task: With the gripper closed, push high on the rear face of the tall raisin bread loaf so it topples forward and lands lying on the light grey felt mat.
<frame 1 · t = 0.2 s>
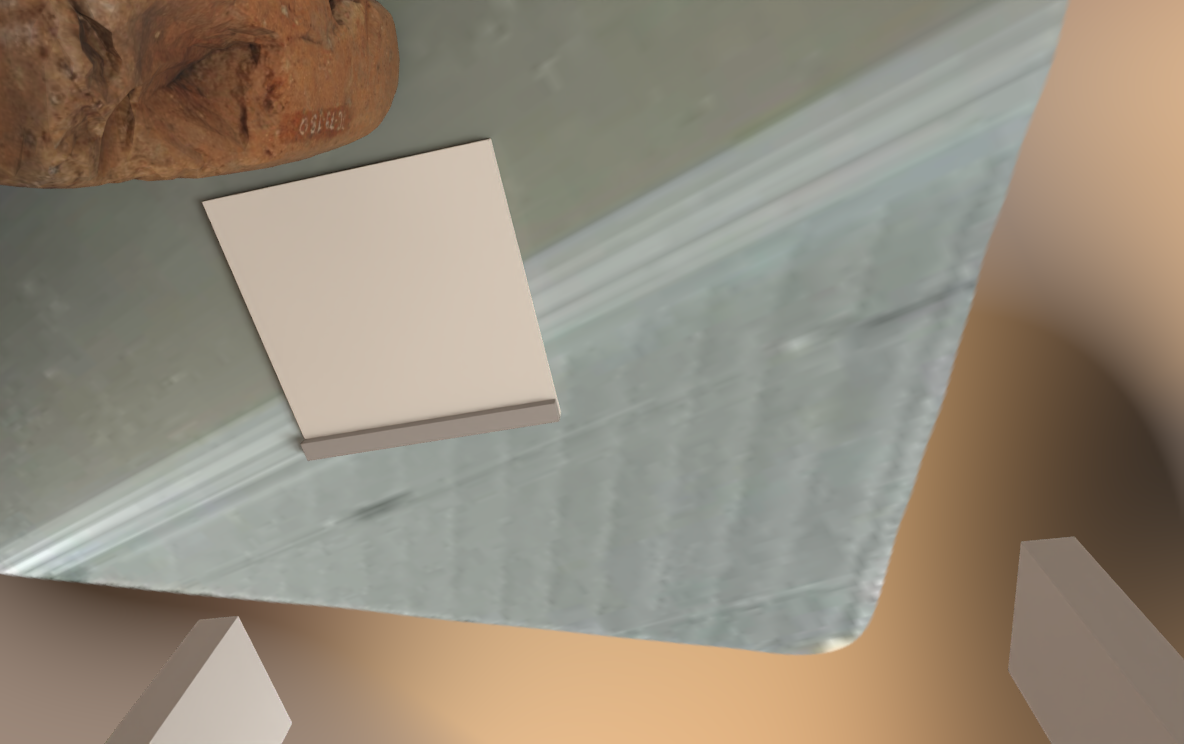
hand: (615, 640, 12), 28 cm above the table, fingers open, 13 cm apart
mat: (393, 311, 40), on the table
raisin bread loaf: (304, 46, 34), on the table
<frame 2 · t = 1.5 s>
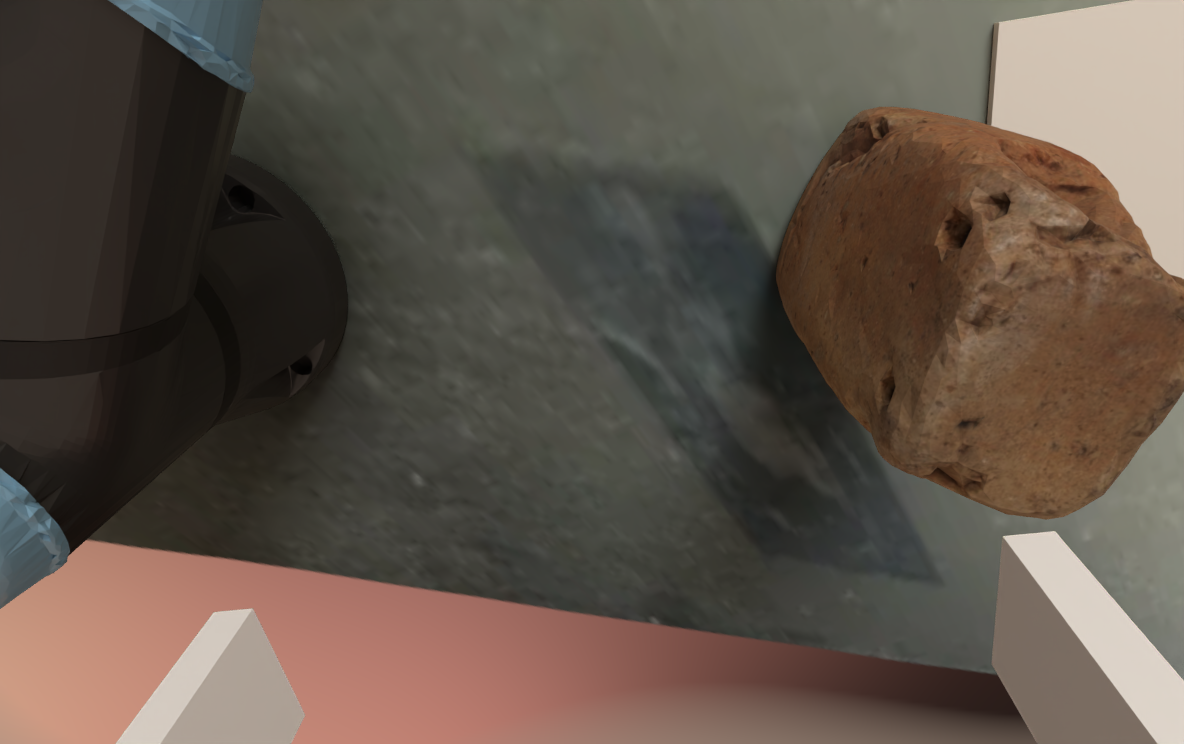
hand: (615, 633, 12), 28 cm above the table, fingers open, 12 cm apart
mat: (1151, 172, 35), on the table
raisin bread loaf: (859, 211, 37), on the table
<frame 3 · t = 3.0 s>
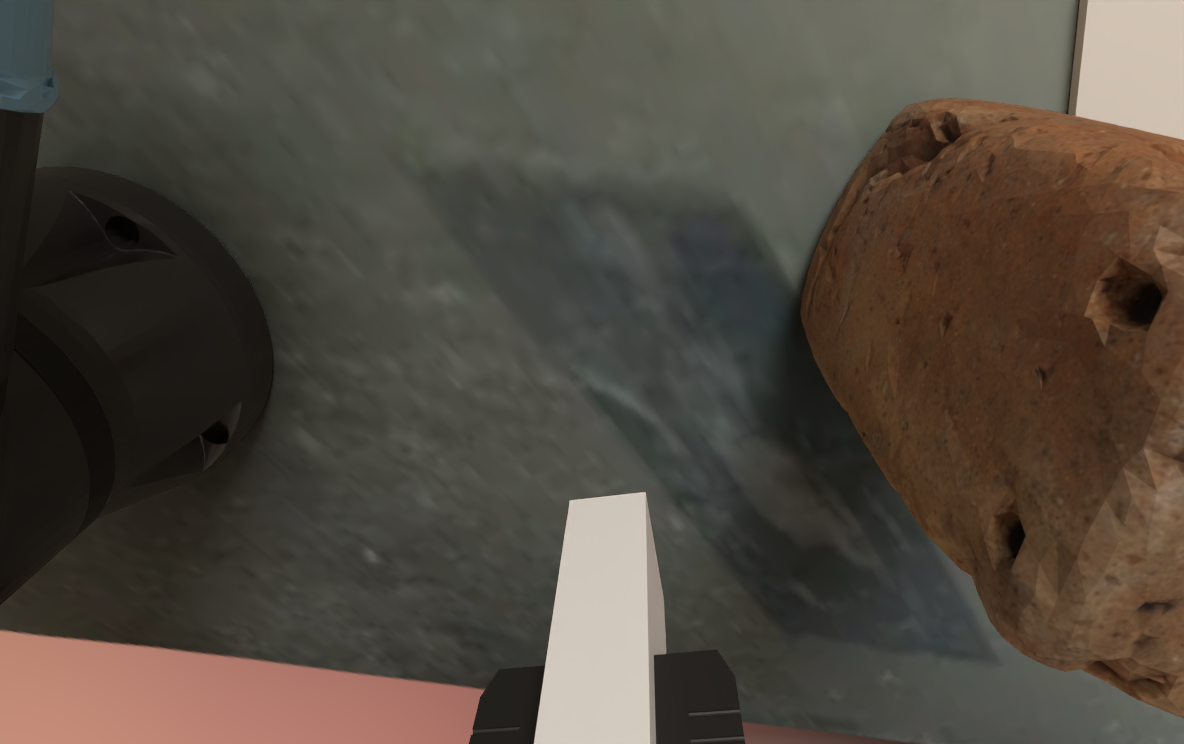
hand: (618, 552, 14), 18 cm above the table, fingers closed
raisin bread loaf: (903, 229, 29), on the table
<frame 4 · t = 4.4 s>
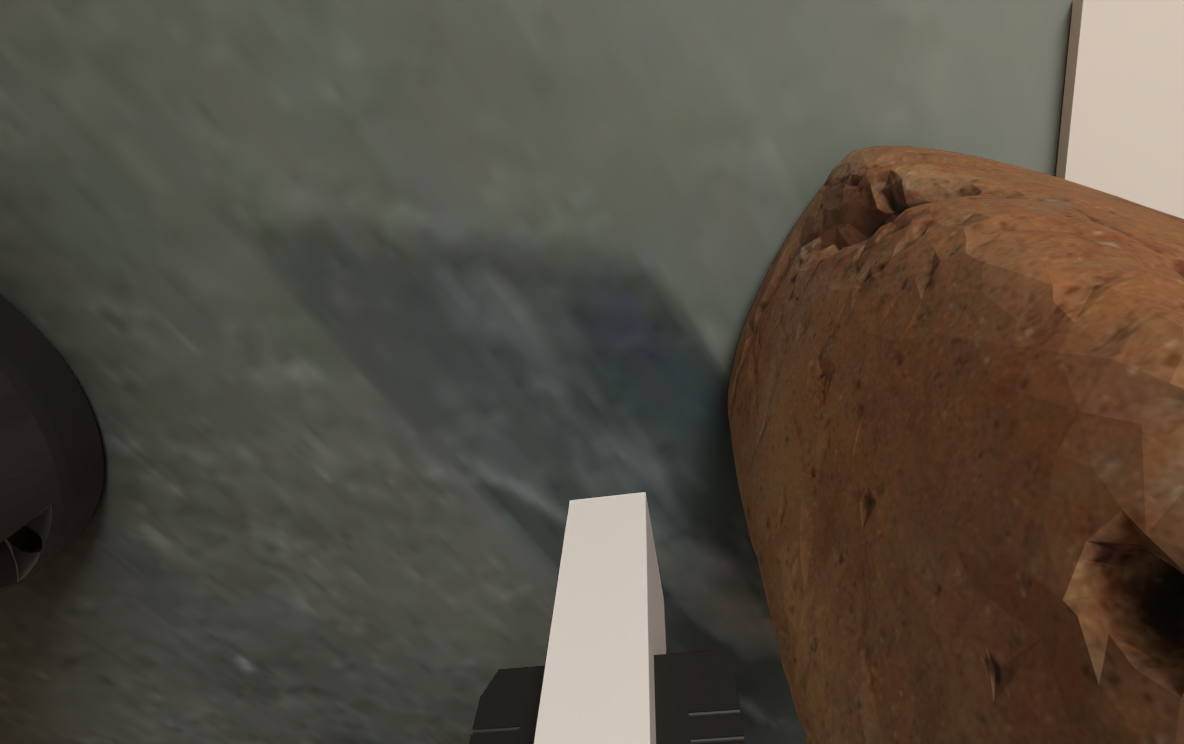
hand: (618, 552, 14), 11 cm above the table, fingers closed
raisin bread loaf: (854, 299, 24), on the table
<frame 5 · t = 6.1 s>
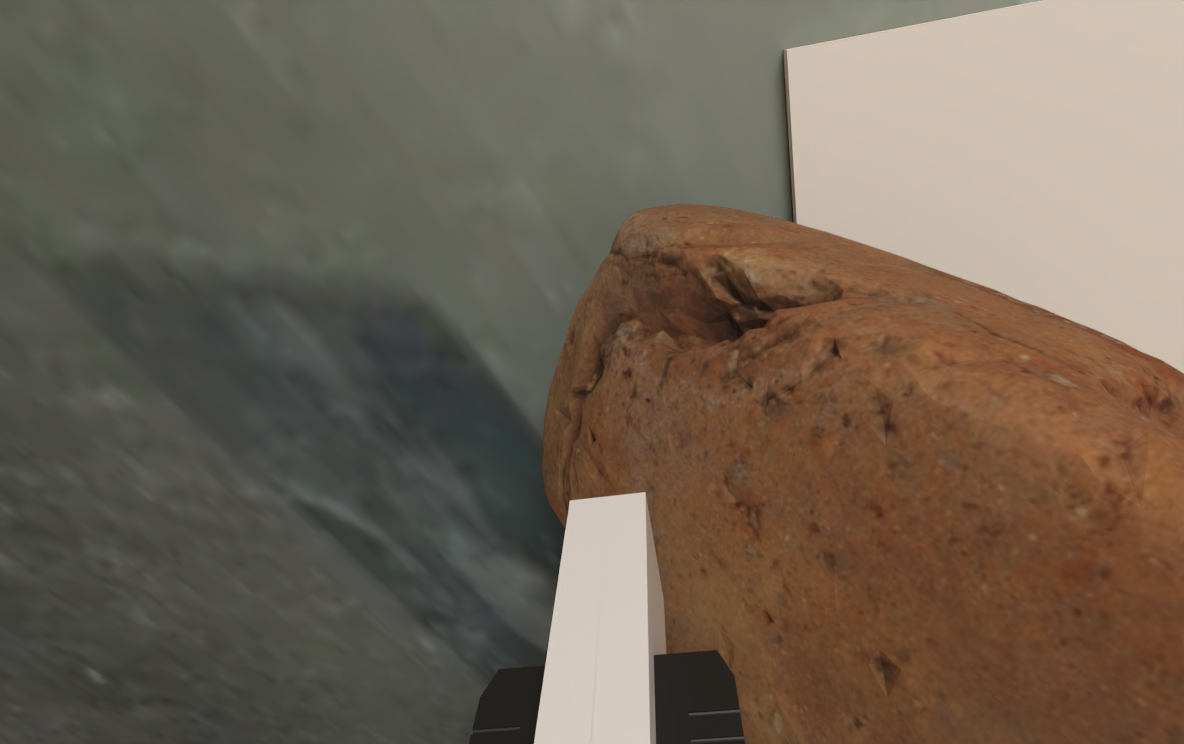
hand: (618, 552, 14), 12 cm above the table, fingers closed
mat: (1047, 267, 23), on the table
raisin bread loaf: (637, 350, 23), point 2 cm above the table
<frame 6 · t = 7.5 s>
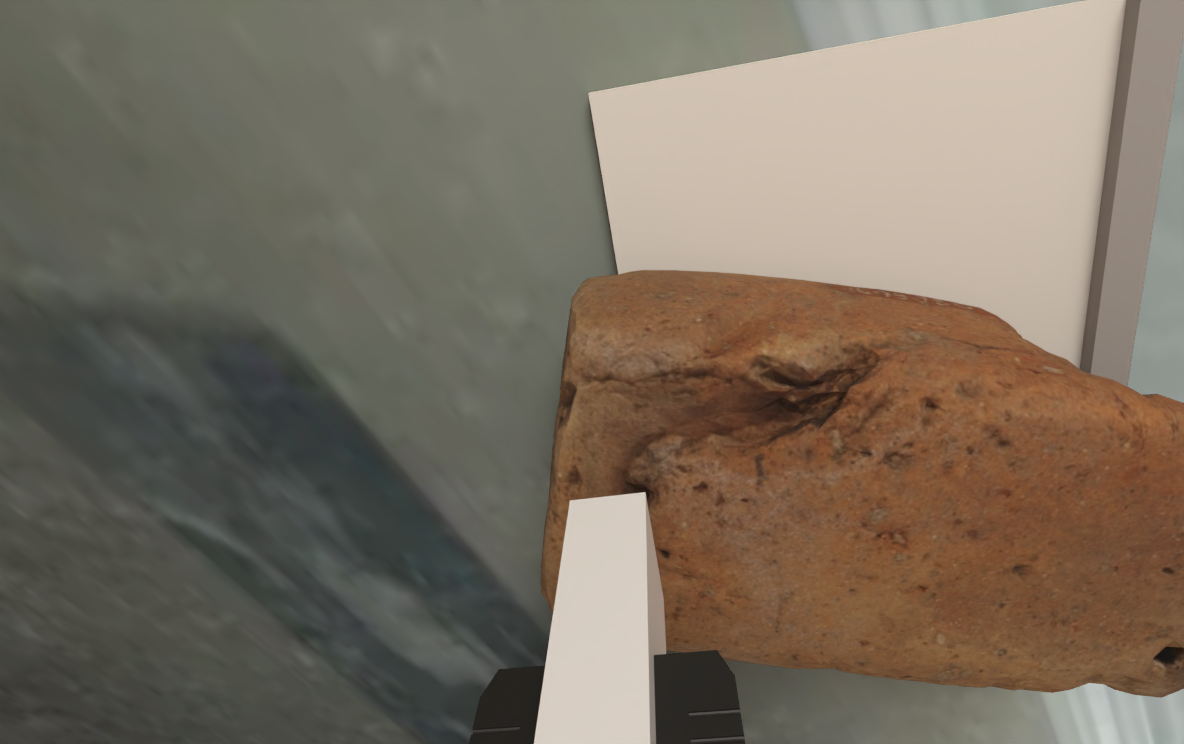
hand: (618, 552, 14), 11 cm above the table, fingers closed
mat: (865, 301, 23), on the table
raisin bread loaf: (545, 437, 22), point 4 cm above the table, touching mat
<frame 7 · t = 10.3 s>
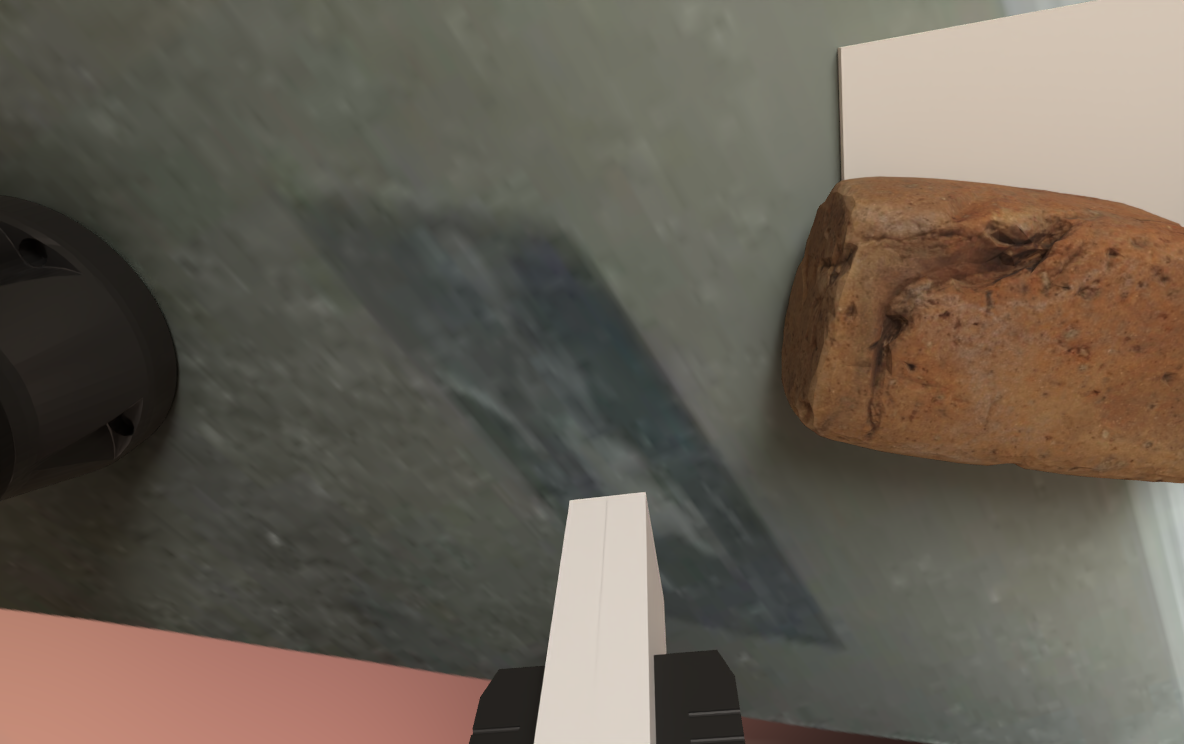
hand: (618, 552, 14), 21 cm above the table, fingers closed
mat: (1028, 208, 31), on the table
raisin bread loaf: (799, 300, 29), point 4 cm above the table, touching mat
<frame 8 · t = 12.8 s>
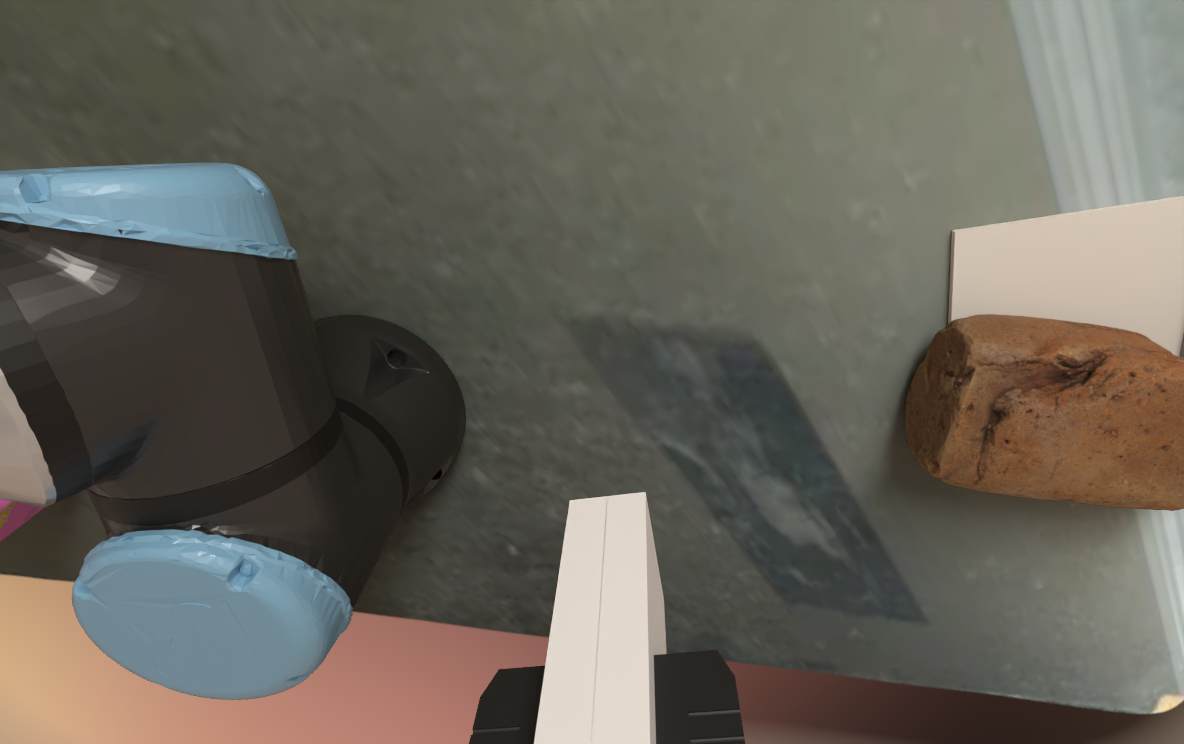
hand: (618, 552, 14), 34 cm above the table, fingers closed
mat: (1071, 328, 47), on the table
raisin bread loaf: (926, 393, 45), point 4 cm above the table, touching mat
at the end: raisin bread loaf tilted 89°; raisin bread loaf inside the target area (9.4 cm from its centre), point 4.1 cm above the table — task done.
